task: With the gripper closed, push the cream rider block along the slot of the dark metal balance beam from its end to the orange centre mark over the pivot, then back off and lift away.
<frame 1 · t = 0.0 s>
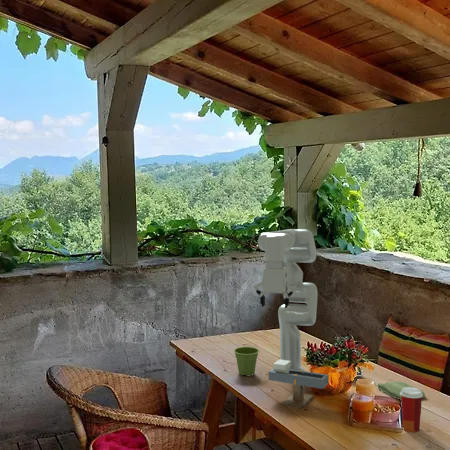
hand: (274, 306, 237), 37 cm above the table, tool pointing down, fingers open, 9 cm apart
small box: (348, 376, 262), on the table
washcloth: (400, 394, 240), on the table
plant pot: (246, 374, 266), on the table
paper cup: (410, 429, 205), on the table
balance beam: (298, 401, 233), on the table
rider: (282, 367, 235), point 13 cm above the table, slide at -7.0 cm
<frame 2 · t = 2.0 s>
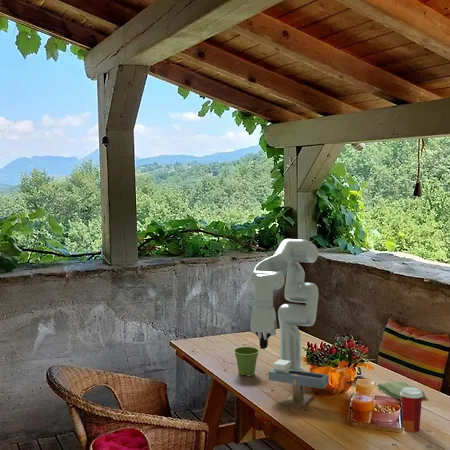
hand: (263, 348, 238), 20 cm above the table, tool pointing down, fingers closed
nothing on the table moved.
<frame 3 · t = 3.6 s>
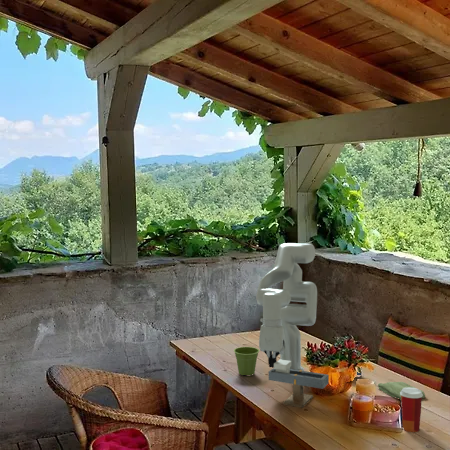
hand: (272, 366, 237), 13 cm above the table, tool pointing down, fingers closed
rider: (282, 367, 235), point 13 cm above the table, slide at -6.8 cm, touching gripper
everything else where it was.
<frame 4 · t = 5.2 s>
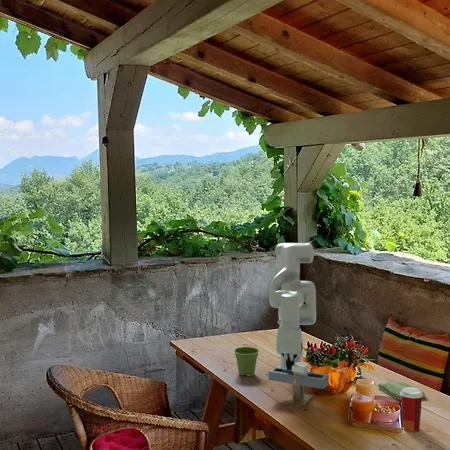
hand: (290, 369, 233), 13 cm above the table, tool pointing down, fingers closed
rider: (300, 370, 231), point 13 cm above the table, slide at 1.0 cm, touching gripper
everything else where it was.
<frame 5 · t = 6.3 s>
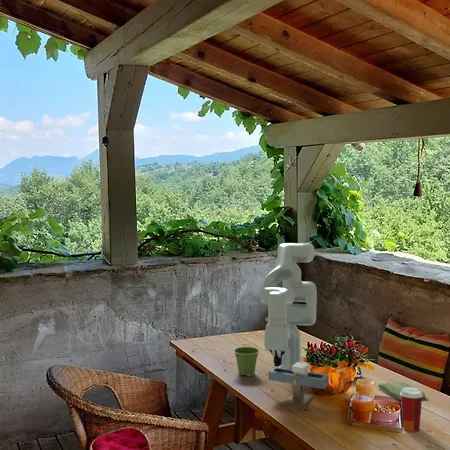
hand: (277, 365, 236), 13 cm above the table, tool pointing down, fingers closed
rider: (300, 370, 231), point 13 cm above the table, slide at 1.0 cm
everything else where it was.
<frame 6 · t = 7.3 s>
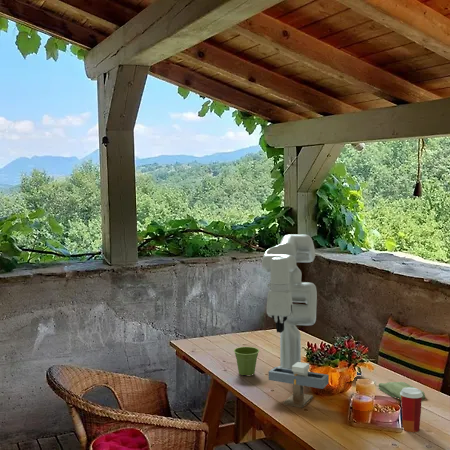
hand: (280, 331, 236), 27 cm above the table, tool pointing down, fingers closed
nothing on the table moved.
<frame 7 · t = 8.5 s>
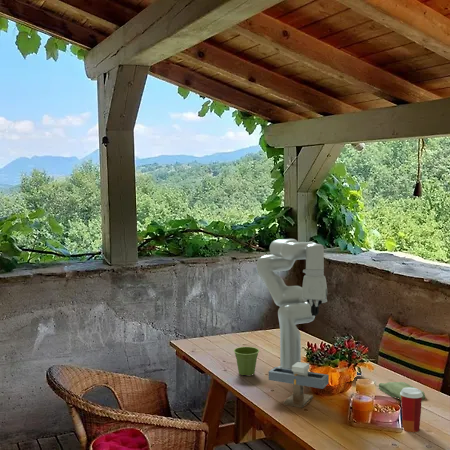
hand: (314, 315, 248), 31 cm above the table, tool pointing down, fingers closed
nothing on the table moved.
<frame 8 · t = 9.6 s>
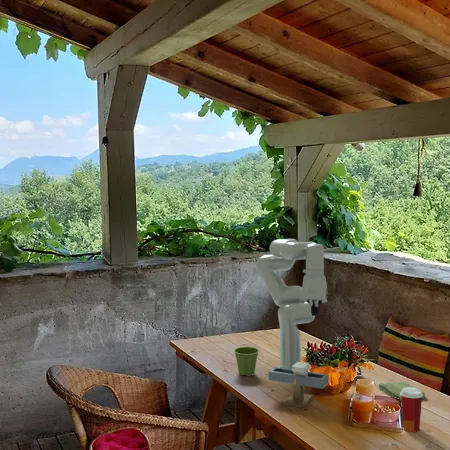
hand: (314, 315, 248), 31 cm above the table, tool pointing down, fingers closed
nothing on the table moved.
at the end: rider slide at 1.0 cm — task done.
